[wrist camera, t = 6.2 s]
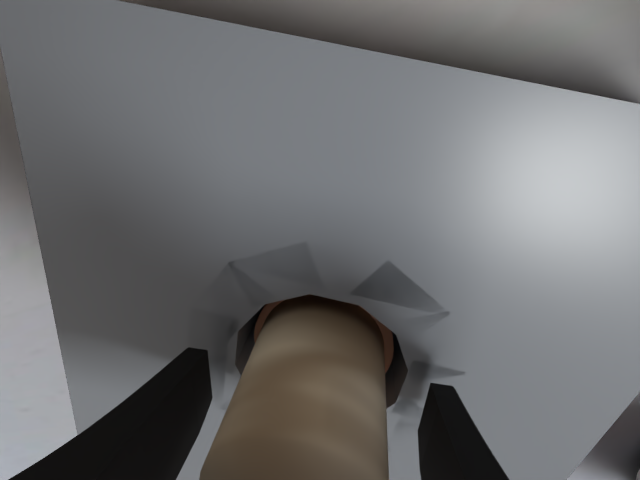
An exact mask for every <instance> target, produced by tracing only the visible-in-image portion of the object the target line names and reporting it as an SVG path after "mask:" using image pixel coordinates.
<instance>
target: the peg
mask: <svg viewBox="0 0 640 480" xmlns="http://www.w3.org/2000/svg"><path fill="white" fill-rule="evenodd" d="M199 480H389V465H388V438H387V411H386V384H385V357H384V340H383V336H382V333H381V330H380V328H379V326H378V325H377V323H376V321H375V320H374V319H373V318H372V316H371V315H370V314H369V313H368V312H367V311H365V310H364V309H363V308H362V307H360V306H359V305H355V304H351V303H347V302H342V301H338V300H334V299H329V298H325V297H321V296H316V295H312V294H308V295H304V296H299V297H295V298H290V299H286V300H284V301H282V302H281V303H279V304H278V305H277V306H275V307H274V308H273V309H272V310H271V312H270V313H269V314H268V316H267V317H266V319H265V322H264V324H263V326H262V329H261V331H260V333H259V336H258V338H257V340H256V343H255V345H254V347H253V350H252V352H251V354H250V357H249V359H248V361H247V364H246V366H245V368H244V371H243V373H242V375H241V378H240V380H239V382H238V385H237V387H236V389H235V392H234V394H233V396H232V399H231V401H230V403H229V406H228V408H227V410H226V413H225V415H224V417H223V420H222V422H221V424H220V427H219V429H218V431H217V434H216V436H215V438H214V441H213V443H212V445H211V448H210V450H209V452H208V455H207V457H206V459H205V462H204V464H203V466H202V469H201V471H200V478H199Z"/></svg>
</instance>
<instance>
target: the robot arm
mask: <svg viewBox="0 0 640 480" xmlns="http://www.w3.org/2000/svg"><path fill="white" fill-rule="evenodd" d="M212 399H213V397H212V387H211V378H210V368H209V359H208V350H204V349H197V348H190V347H188V348H187V349H185V350H184V351H183V352H182V353H180V354H179V355H178V356H177V357H176V358H175V359H173V360H172V361H171V362H170V363H169V364H168V365H166V366H165V367H164V368H163V369H162V370H160V371H159V372H158V373H157V374H156V375H155V376H153V377H152V378H151V379H150V380H149V381H147V382H146V383H145V384H144V385H142V386H141V387H140V388H139V389H138V390H136V391H135V392H134V393H133V394H131V395H130V396H129V397H128V398H126V399H125V400H124V401H123V402H121V403H120V404H119V405H118V406H116V407H115V408H114V409H112V410H111V411H110V412H108V413H107V414H106V415H104V416H103V417H102V418H100V419H99V420H98V421H96V422H95V423H94V424H92V425H91V426H90V427H88V428H87V429H86V430H84V431H83V432H81V433H80V434H79V435H77V436H76V437H74V438H73V439H72V440H70V441H69V442H67V443H66V444H64V445H63V446H61V447H60V448H58V449H57V450H55V451H54V452H52V453H51V454H49V455H48V456H46V457H45V458H43V459H42V460H40V461H38V462H37V463H35V464H34V465H32V466H30V467H29V468H27V469H25V470H24V471H22V472H20V473H19V474H17V475H15V476H14V477H12V478H10V479H9V480H176V479H177V477H178V475H179V473H180V471H181V469H182V467H183V465H184V463H185V461H186V459H187V457H188V455H189V453H190V451H191V449H192V447H193V445H194V443H195V441H196V439H197V437H198V435H199V433H200V431H201V428H202V425H203V423H204V420H205V418H206V415H207V412H208V410H209V407H210V404H211V401H212ZM418 449H419V466H420V475H421V480H509V478H508V477H507V475H506V474H505V472H504V470H503V469H502V467H501V466H500V464H499V463H498V461H497V459H496V458H495V456H494V455H493V453H492V452H491V450H490V448H489V447H488V445H487V444H486V442H485V440H484V439H483V437H482V435H481V434H480V432H479V430H478V428H477V427H476V425H475V423H474V422H473V420H472V418H471V416H470V415H469V413H468V411H467V409H466V408H465V406H464V404H463V402H462V400H461V399H460V397H459V395H458V393H457V391H456V389H455V388H454V387H453V386H450V385H443V384H437V383H430V386H429V390H428V394H427V398H426V401H425V405H424V409H423V413H422V416H421V420H420V424H419V428H418Z"/></svg>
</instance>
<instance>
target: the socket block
mask: <svg viewBox="0 0 640 480" xmlns="http://www.w3.org/2000/svg"><path fill="white" fill-rule="evenodd" d="M0 48H1V53H2V58H3V63H4V68H5V73H6V78H7V83H8V88H9V93H10V98H11V103H12V108H13V113H14V118H15V123H16V128H17V133H18V138H19V143H20V148H21V153H22V158H23V163H24V168H25V173H26V178H27V183H28V188H29V193H30V198H31V203H32V208H33V213H34V218H35V223H36V228H37V233H38V238H39V243H40V248H41V253H42V258H43V263H44V268H45V273H46V278H47V283H48V288H49V294H50V299H51V304H52V309H53V314H54V319H55V324H56V329H57V334H58V339H59V344H60V349H61V354H62V359H63V364H64V369H65V374H66V379H67V384H68V389H69V394H70V399H71V404H72V409H73V414H74V419H75V424H76V429H77V434H78V435H79V434H80V433H81V432H83V431H84V430H86V429H87V428H88V427H90V426H91V425H92V424H94V423H95V422H96V421H98V420H99V419H100V418H102V417H103V416H104V415H106V414H107V413H108V412H110V411H111V410H112V409H114V408H115V407H116V406H118V405H119V404H120V403H121V402H123V401H124V400H125V399H126V398H128V397H129V396H130V395H131V394H133V393H134V392H135V391H136V390H138V389H139V388H140V387H141V386H142V385H144V384H145V383H146V382H147V381H149V380H150V379H151V378H152V377H153V376H155V375H156V374H157V373H158V372H159V371H160V370H162V369H163V368H164V367H165V366H166V365H168V364H169V363H170V362H171V361H172V360H173V359H175V358H176V357H177V356H178V355H179V354H180V353H182V352H183V351H184V350H185V349H187V348H188V347H190V348H197V349H204V350H208V359H209V368H210V378H211V387H212V397H213V399H212V401H211V404H210V407H209V410H208V412H207V415H206V418H205V420H204V423H203V425H202V428H201V431H200V433H199V435H198V437H197V439H196V441H195V443H194V445H193V447H192V449H191V451H190V453H189V455H188V457H187V459H186V461H185V463H184V465H183V467H182V469H181V471H180V473H179V475H178V477H177V479H176V480H199V478H200V471H201V469H202V466H203V464H204V462H205V459H206V457H207V455H208V452H209V450H210V448H211V445H212V443H213V441H214V438H215V436H216V434H217V431H218V429H219V427H220V424H221V422H222V420H223V417H224V415H225V413H226V410H227V408H228V406H229V403H230V401H231V399H232V396H233V394H234V392H235V389H236V387H237V385H238V382H239V380H240V378H241V375H242V373H243V371H244V368H245V366H246V364H247V361H248V359H249V357H250V354H251V352H252V350H253V347H254V345H255V341H254V330H255V325H256V322H257V320H258V317H259V315H260V313H261V311H262V308H263V307H264V305H265V304H269V303H273V302H277V301H282V300H286V299H290V298H295V297H299V296H304V295H308V294H312V295H316V296H321V297H325V298H329V299H334V300H338V301H342V302H347V303H351V304H355V305H360V306H361V307H362V308H363V309H365V310H366V311H367V312H368V313H370V314H371V315H372V316H373V317H375V318H376V319H377V320H378V321H380V322H381V323H382V324H383V325H385V326H386V327H387V328H388V329H390V330H391V331H392V332H393V346H394V351H393V358H392V362H391V364H390V366H389V369H388V370H387V372H386V373H385V384H386V411H387V438H388V465H389V480H421V475H420V466H419V449H418V428H419V424H420V420H421V416H422V413H423V409H424V405H425V401H426V398H427V394H428V390H429V386H430V383H437V384H443V385H450V386H453V387H454V388H455V389H456V391H457V393H458V395H459V397H460V399H461V400H462V402H463V404H464V406H465V408H466V409H467V411H468V413H469V415H470V416H471V418H472V420H473V422H474V423H475V425H476V427H477V428H478V430H479V432H480V434H481V435H482V437H483V439H484V440H485V442H486V444H487V445H488V447H489V448H490V450H491V452H492V453H493V455H494V456H495V458H496V459H497V461H498V463H499V464H500V466H501V467H502V469H503V470H504V472H505V474H506V475H507V477H508V478H509V480H567V478H568V477H569V476H570V475H571V474H572V472H573V471H574V470H575V469H576V468H577V466H578V465H579V464H580V463H581V462H582V461H583V459H584V458H585V457H586V456H587V455H588V453H589V452H590V451H591V450H592V449H593V447H594V446H595V445H596V444H597V443H598V441H599V440H600V439H601V438H602V437H603V435H604V434H605V433H606V432H607V431H608V429H609V428H610V427H611V426H612V425H613V423H614V422H615V421H616V420H617V419H618V417H619V416H620V415H621V414H622V413H623V411H624V410H625V409H626V408H627V407H628V405H629V404H630V403H631V402H632V401H633V399H634V398H635V397H636V396H637V395H638V393H639V392H640V104H637V103H632V102H627V101H622V100H617V99H612V98H607V97H602V96H597V95H592V94H587V93H582V92H577V91H571V90H566V89H561V88H556V87H551V86H546V85H541V84H536V83H531V82H526V81H521V80H516V79H511V78H506V77H501V76H496V75H491V74H486V73H481V72H476V71H471V70H466V69H461V68H456V67H451V66H446V65H441V64H436V63H430V62H425V61H420V60H415V59H410V58H405V57H400V56H395V55H390V54H385V53H380V52H375V51H370V50H365V49H360V48H355V47H350V46H345V45H340V44H335V43H330V42H325V41H320V40H315V39H310V38H305V37H300V36H295V35H289V34H284V33H279V32H274V31H269V30H264V29H259V28H254V27H249V26H244V25H239V24H234V23H229V22H224V21H219V20H214V19H209V18H204V17H199V16H194V15H189V14H184V13H179V12H174V11H169V10H164V9H159V8H154V7H148V6H143V5H138V4H133V3H128V2H123V1H118V0H0Z"/></svg>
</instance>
